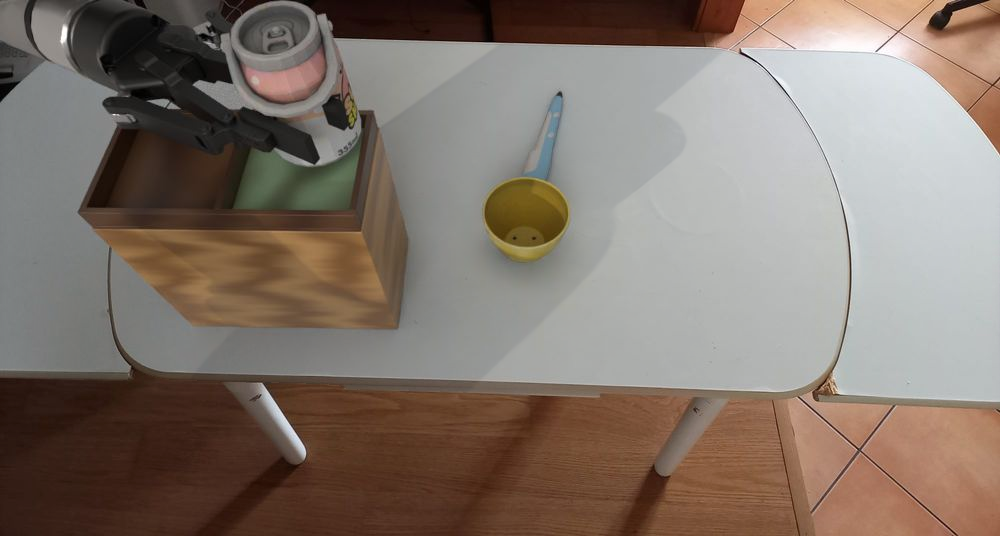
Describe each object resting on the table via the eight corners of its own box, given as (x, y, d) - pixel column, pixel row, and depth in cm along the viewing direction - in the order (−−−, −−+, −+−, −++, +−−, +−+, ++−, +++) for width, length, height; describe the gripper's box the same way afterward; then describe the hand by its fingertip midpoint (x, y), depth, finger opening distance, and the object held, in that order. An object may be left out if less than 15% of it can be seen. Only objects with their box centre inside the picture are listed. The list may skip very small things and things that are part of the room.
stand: (192, 326, 71) (91, 229, 54) (219, 237, 78) (137, 125, 60) (398, 329, 71) (362, 232, 54) (408, 239, 77) (379, 127, 60)
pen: (541, 200, 80) (542, 187, 77) (517, 196, 80) (517, 182, 78) (569, 96, 89) (571, 81, 87) (548, 93, 90) (549, 78, 87)
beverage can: (374, 169, 54) (339, 63, 44) (278, 191, 53) (219, 89, 43) (358, 95, 59) (323, -17, 48) (269, 115, 58) (214, 4, 47)
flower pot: (564, 211, 79) (568, 176, 73) (567, 280, 74) (572, 248, 68) (485, 211, 79) (483, 176, 73) (483, 280, 74) (481, 248, 68)
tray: (93, 228, 54) (76, 212, 52) (137, 125, 60) (124, 108, 58) (360, 231, 54) (354, 215, 52) (378, 127, 60) (373, 109, 58)
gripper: (193, 23, 61) (392, 100, 55) (63, 134, 53) (278, 237, 48) (155, -50, 54) (377, 30, 48) (2, 66, 47) (241, 175, 41)
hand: (327, 132), depth 48 cm, fingers closed on beverage can, 3 cm apart
